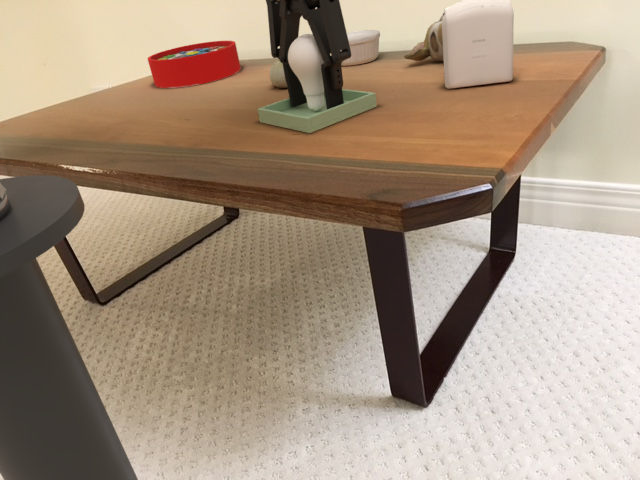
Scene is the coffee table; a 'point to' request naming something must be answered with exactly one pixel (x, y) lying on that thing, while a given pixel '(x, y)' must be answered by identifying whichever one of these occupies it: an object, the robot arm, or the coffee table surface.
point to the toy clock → (194, 64)
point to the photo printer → (478, 43)
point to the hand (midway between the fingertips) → (316, 107)
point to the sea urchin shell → (278, 75)
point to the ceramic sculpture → (429, 44)
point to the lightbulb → (308, 69)
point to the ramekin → (362, 47)
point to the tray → (316, 112)
